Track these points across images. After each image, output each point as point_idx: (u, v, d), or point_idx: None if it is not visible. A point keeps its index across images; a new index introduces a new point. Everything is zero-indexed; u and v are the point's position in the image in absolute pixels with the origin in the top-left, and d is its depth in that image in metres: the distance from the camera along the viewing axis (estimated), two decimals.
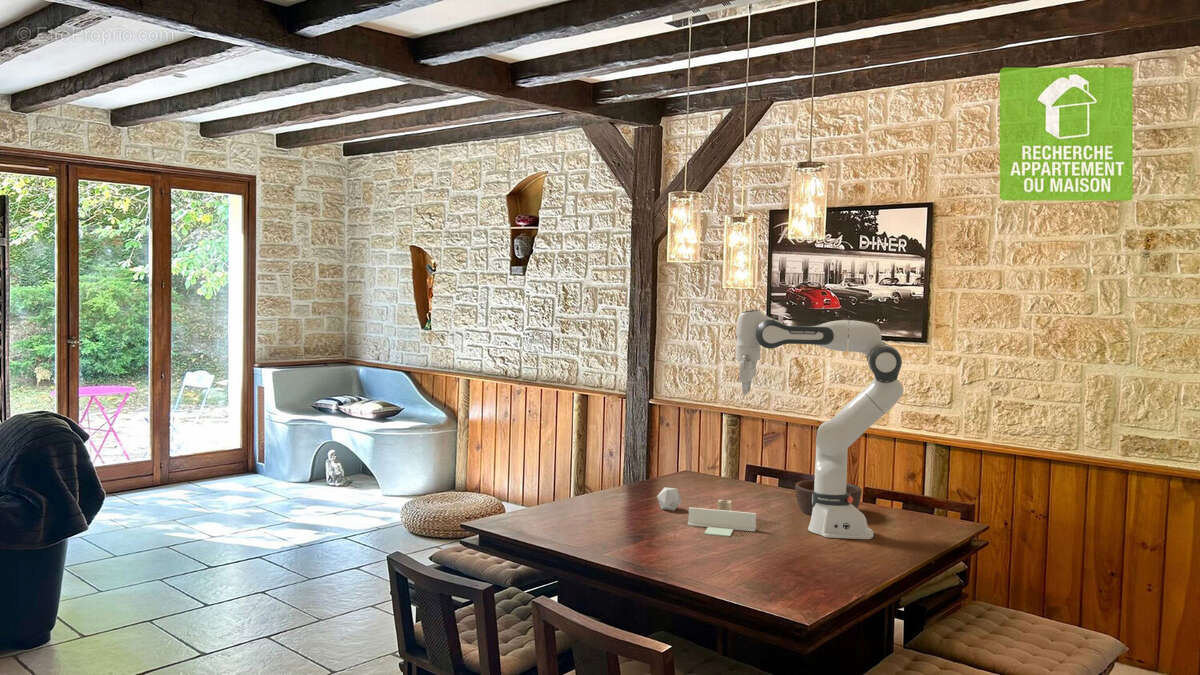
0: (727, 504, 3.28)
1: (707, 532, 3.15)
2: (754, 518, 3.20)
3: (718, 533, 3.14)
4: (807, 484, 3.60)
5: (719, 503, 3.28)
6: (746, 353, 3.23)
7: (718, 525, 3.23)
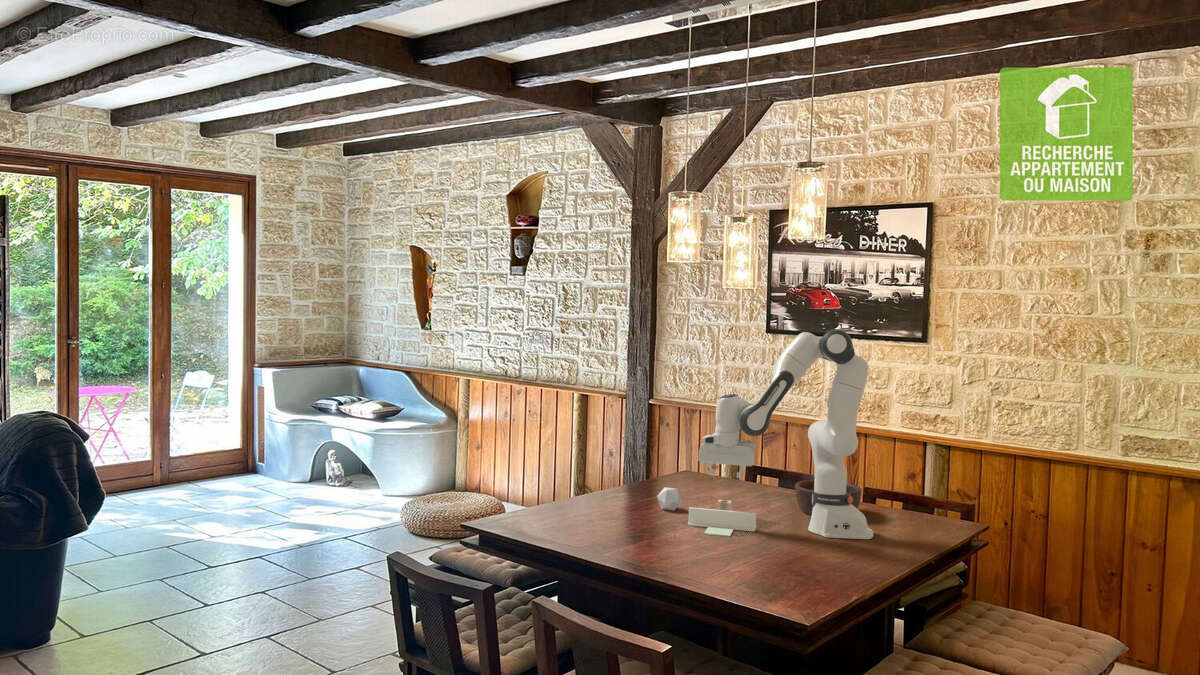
0: (727, 504, 3.28)
1: (707, 532, 3.15)
2: (754, 518, 3.20)
3: (718, 533, 3.14)
4: (807, 484, 3.60)
5: (719, 503, 3.28)
6: None
7: (718, 525, 3.23)
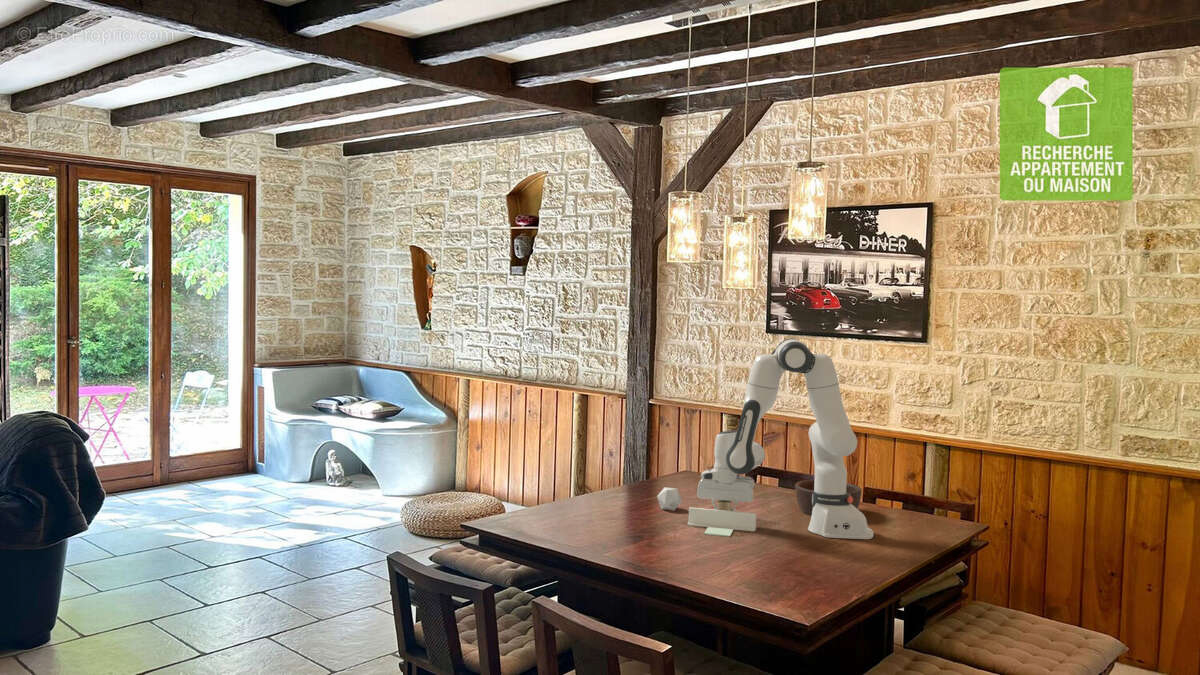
0: (727, 504, 3.28)
1: (707, 532, 3.15)
2: (754, 518, 3.20)
3: (718, 533, 3.14)
4: (807, 484, 3.60)
5: (719, 503, 3.28)
6: (737, 473, 3.28)
7: (718, 525, 3.23)
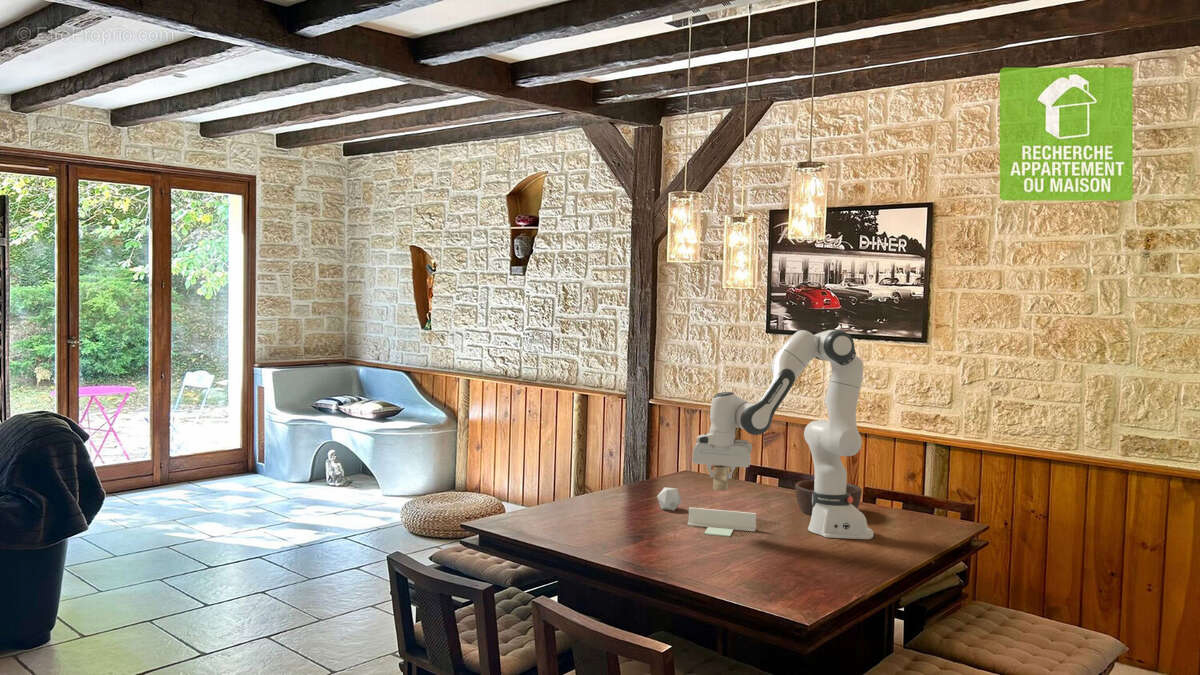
0: (723, 469, 3.13)
1: (707, 532, 3.15)
2: (754, 518, 3.20)
3: (718, 533, 3.14)
4: (807, 484, 3.60)
5: (715, 468, 3.14)
6: (734, 437, 3.14)
7: (718, 525, 3.23)
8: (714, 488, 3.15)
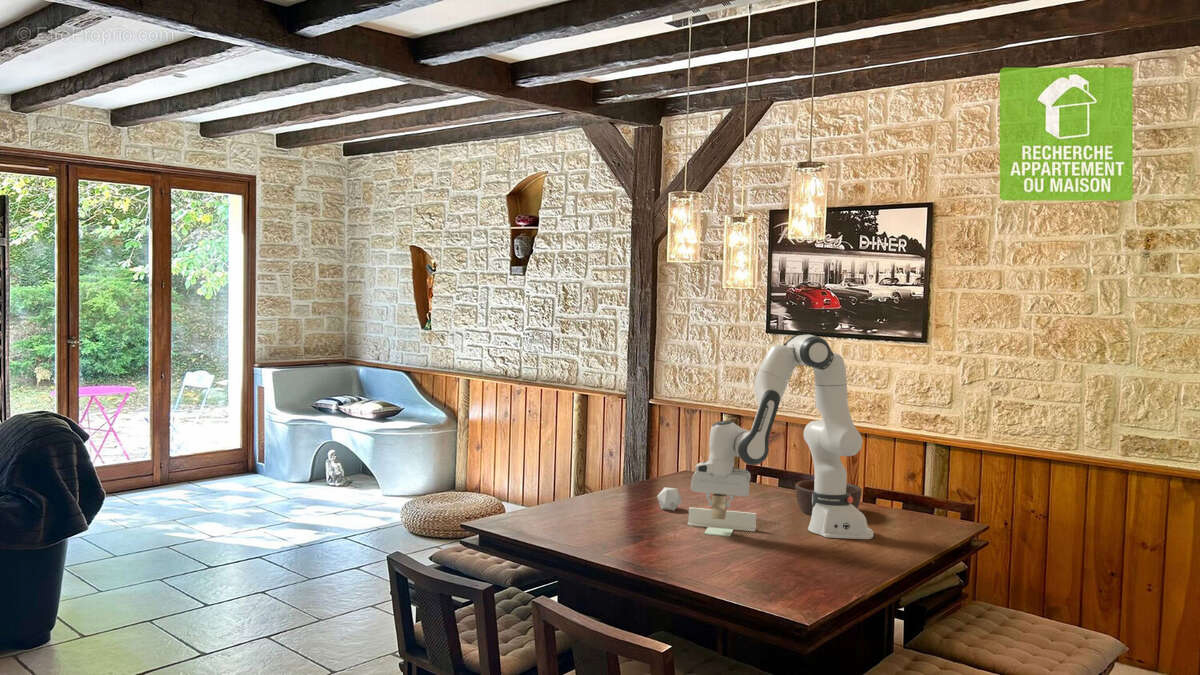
0: (722, 498, 3.14)
1: (707, 532, 3.15)
2: (754, 518, 3.20)
3: (718, 533, 3.14)
4: (807, 484, 3.60)
5: (714, 497, 3.14)
6: (733, 466, 3.15)
7: (718, 525, 3.23)
8: (713, 516, 3.15)
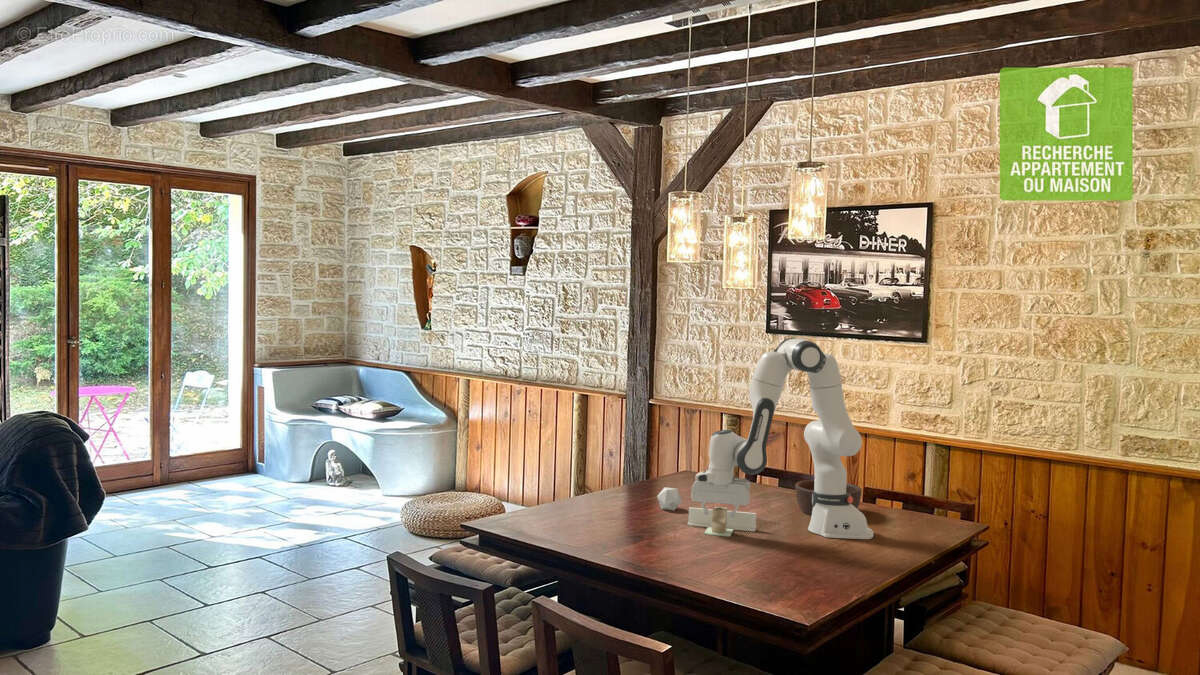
0: (722, 512, 3.14)
1: (707, 532, 3.15)
2: (754, 518, 3.20)
3: (718, 533, 3.14)
4: (807, 484, 3.60)
5: (714, 510, 3.15)
6: (733, 475, 3.15)
7: None
8: (713, 530, 3.15)
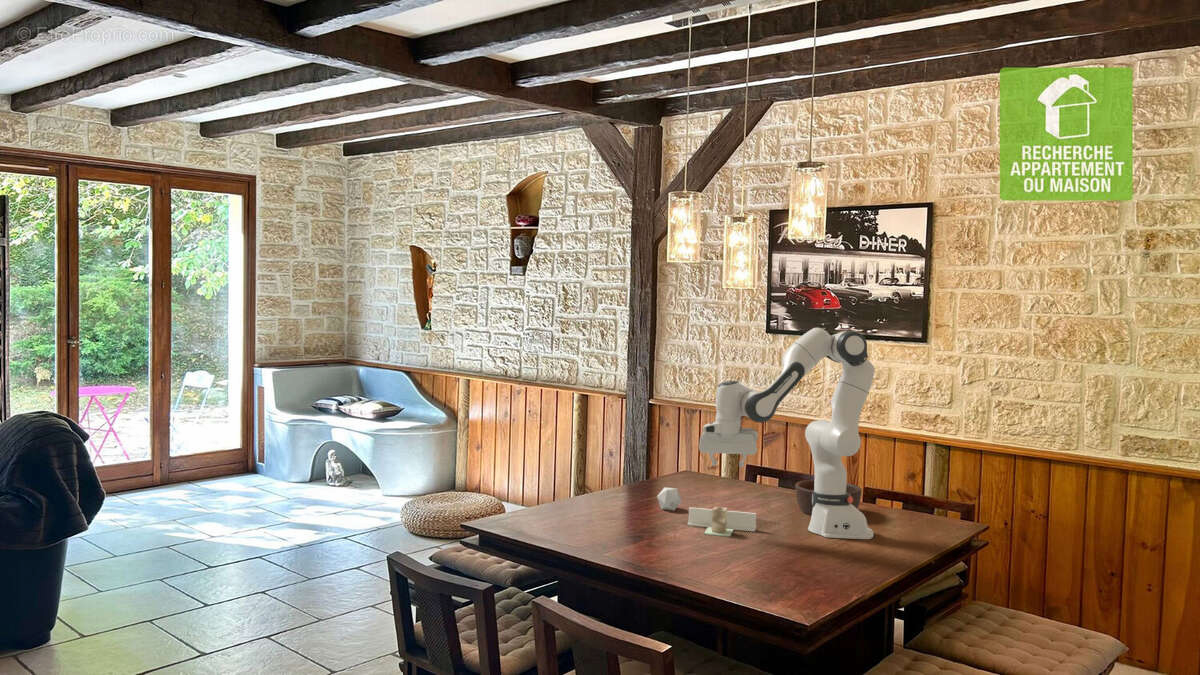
0: (722, 512, 3.14)
1: (707, 532, 3.15)
2: (754, 518, 3.20)
3: (718, 533, 3.14)
4: (807, 484, 3.60)
5: (714, 510, 3.15)
6: (740, 425, 3.18)
7: None
8: (713, 530, 3.15)
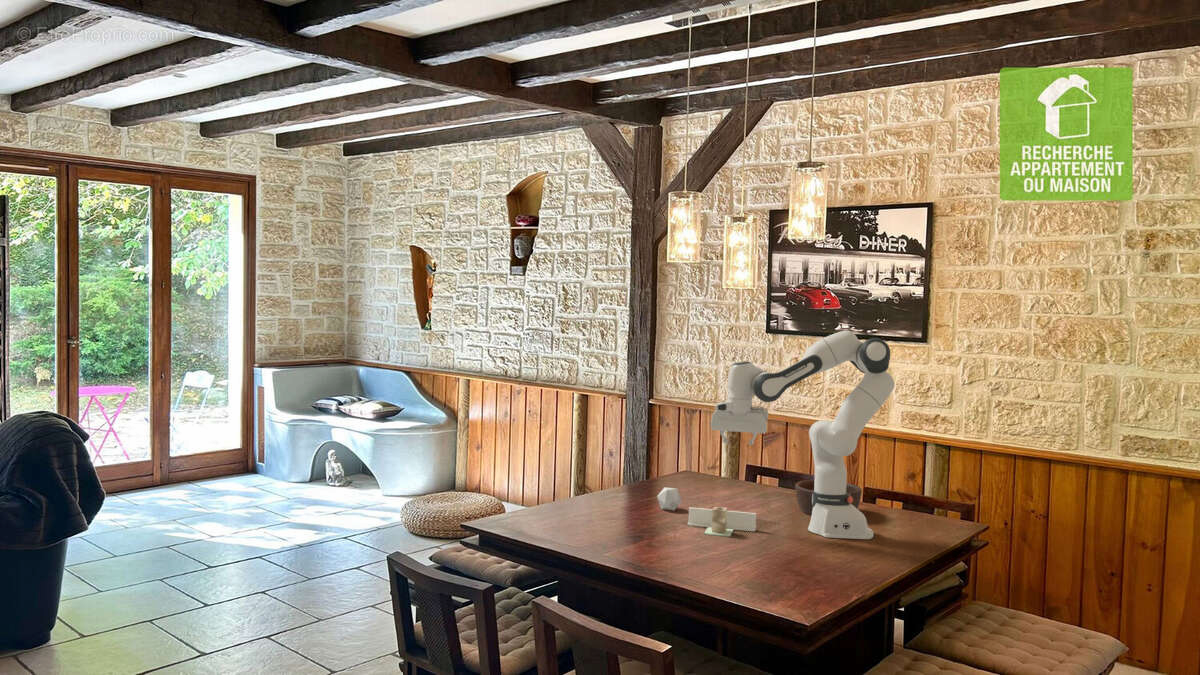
0: (722, 512, 3.14)
1: (707, 532, 3.15)
2: (754, 518, 3.20)
3: (718, 533, 3.14)
4: (807, 484, 3.60)
5: (714, 510, 3.15)
6: (751, 404, 3.28)
7: None
8: (713, 530, 3.15)
